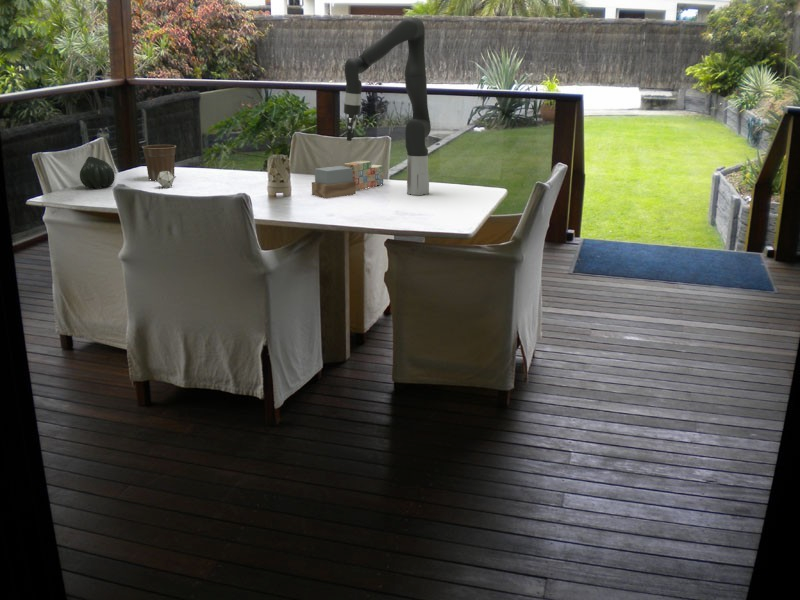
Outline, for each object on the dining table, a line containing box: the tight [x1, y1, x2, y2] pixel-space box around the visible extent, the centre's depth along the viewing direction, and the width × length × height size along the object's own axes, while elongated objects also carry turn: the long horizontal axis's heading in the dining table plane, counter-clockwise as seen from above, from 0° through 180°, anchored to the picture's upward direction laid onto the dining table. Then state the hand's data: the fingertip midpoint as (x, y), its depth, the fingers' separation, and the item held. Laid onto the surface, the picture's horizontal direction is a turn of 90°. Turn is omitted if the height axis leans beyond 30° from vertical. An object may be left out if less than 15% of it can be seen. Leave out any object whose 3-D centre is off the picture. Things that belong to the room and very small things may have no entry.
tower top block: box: [314, 165, 353, 185], centre depth 377 cm, size 9×14×6 cm, turn 129°
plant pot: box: [141, 144, 177, 181], centre depth 415 cm, size 16×16×16 cm
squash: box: [79, 156, 116, 190], centre depth 393 cm, size 14×15×15 cm
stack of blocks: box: [343, 160, 384, 191], centre depth 396 cm, size 21×6×12 cm, turn 143°
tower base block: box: [311, 181, 357, 199], centre depth 378 cm, size 11×16×6 cm
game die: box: [155, 170, 177, 189], centre depth 394 cm, size 9×8×10 cm
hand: (350, 139), depth 389 cm, fingers open, 8 cm apart
